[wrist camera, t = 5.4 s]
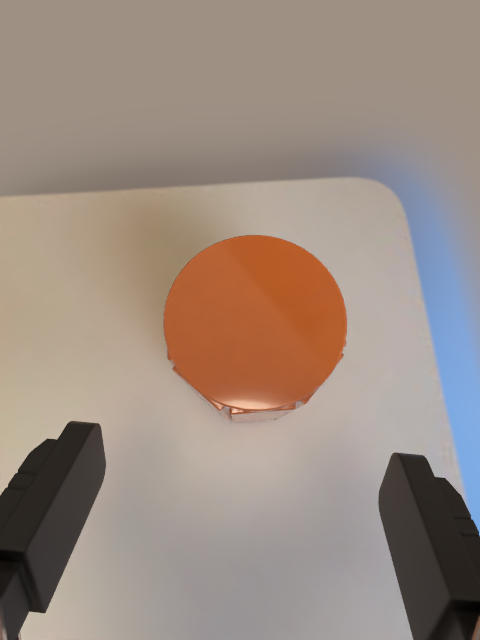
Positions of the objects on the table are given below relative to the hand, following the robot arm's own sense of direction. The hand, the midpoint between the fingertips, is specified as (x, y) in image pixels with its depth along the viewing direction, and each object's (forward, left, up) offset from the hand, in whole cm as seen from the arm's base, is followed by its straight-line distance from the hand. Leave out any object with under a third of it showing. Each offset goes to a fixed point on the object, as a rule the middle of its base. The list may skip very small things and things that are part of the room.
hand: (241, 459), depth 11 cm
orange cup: (+3, -4, -9) cm, 10 cm away
